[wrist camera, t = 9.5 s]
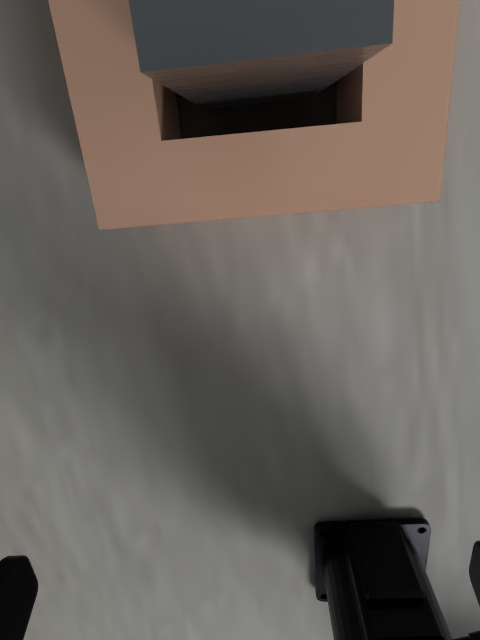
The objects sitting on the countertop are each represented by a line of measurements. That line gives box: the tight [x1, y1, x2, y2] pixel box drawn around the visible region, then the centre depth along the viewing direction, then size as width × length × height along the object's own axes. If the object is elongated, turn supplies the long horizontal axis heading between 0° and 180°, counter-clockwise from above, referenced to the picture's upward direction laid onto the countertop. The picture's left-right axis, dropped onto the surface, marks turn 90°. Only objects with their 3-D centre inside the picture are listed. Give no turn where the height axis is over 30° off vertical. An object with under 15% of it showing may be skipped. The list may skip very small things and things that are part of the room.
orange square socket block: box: [48, 0, 460, 230], centre depth 13 cm, size 11×11×4 cm
